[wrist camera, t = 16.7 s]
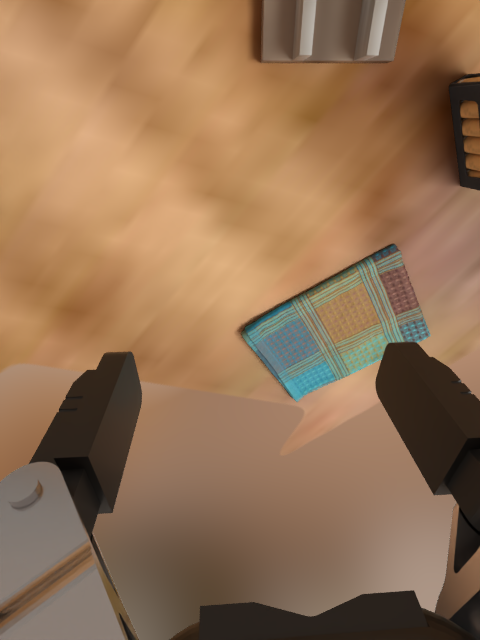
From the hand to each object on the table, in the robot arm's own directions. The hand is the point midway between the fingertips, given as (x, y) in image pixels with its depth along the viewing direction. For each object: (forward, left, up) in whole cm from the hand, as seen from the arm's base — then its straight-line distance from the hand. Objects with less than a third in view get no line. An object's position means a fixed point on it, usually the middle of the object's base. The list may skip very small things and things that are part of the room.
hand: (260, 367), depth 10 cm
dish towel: (+15, -20, -31) cm, 40 cm away
